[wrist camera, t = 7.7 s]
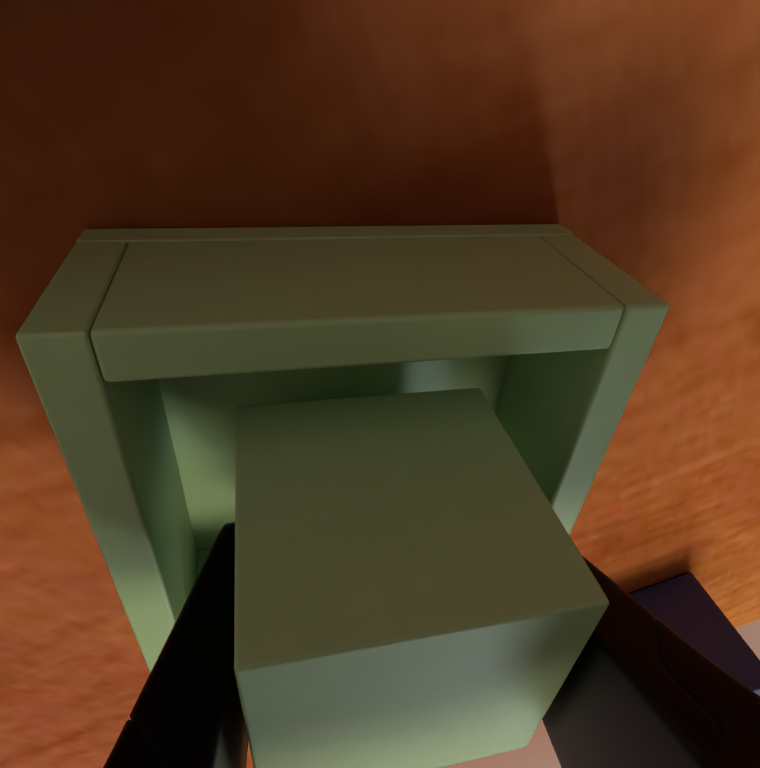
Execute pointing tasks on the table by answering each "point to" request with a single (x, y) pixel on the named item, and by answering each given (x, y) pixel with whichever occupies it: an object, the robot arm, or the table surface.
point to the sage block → (397, 584)
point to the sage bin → (312, 363)
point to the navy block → (702, 626)
